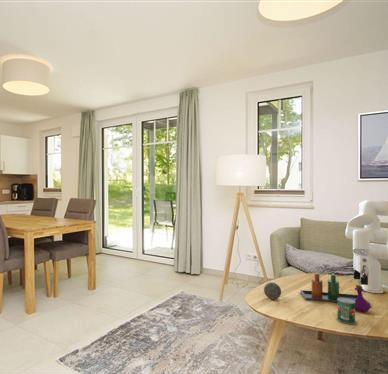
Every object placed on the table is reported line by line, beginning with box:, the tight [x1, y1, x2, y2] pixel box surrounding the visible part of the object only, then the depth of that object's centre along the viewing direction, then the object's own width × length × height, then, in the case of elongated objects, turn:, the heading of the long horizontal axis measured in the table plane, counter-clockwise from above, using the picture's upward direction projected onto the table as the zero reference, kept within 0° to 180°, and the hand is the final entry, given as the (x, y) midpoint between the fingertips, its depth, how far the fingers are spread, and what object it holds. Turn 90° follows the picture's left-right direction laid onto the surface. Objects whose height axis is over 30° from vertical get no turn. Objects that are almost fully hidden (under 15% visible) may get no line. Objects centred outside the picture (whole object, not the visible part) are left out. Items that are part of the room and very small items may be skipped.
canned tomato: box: [336, 297, 356, 325], centre depth 160 cm, size 8×8×11 cm
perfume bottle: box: [354, 278, 372, 314], centre depth 170 cm, size 8×8×18 cm
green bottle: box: [327, 273, 340, 300], centre depth 187 cm, size 6×6×15 cm
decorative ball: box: [263, 282, 282, 300], centre depth 190 cm, size 10×10×10 cm
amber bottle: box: [311, 272, 324, 299], centre depth 190 cm, size 6×6×15 cm
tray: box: [300, 289, 371, 306], centre depth 188 cm, size 34×14×2 cm, turn 74°
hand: (360, 281), depth 170 cm, fingers open, 9 cm apart
